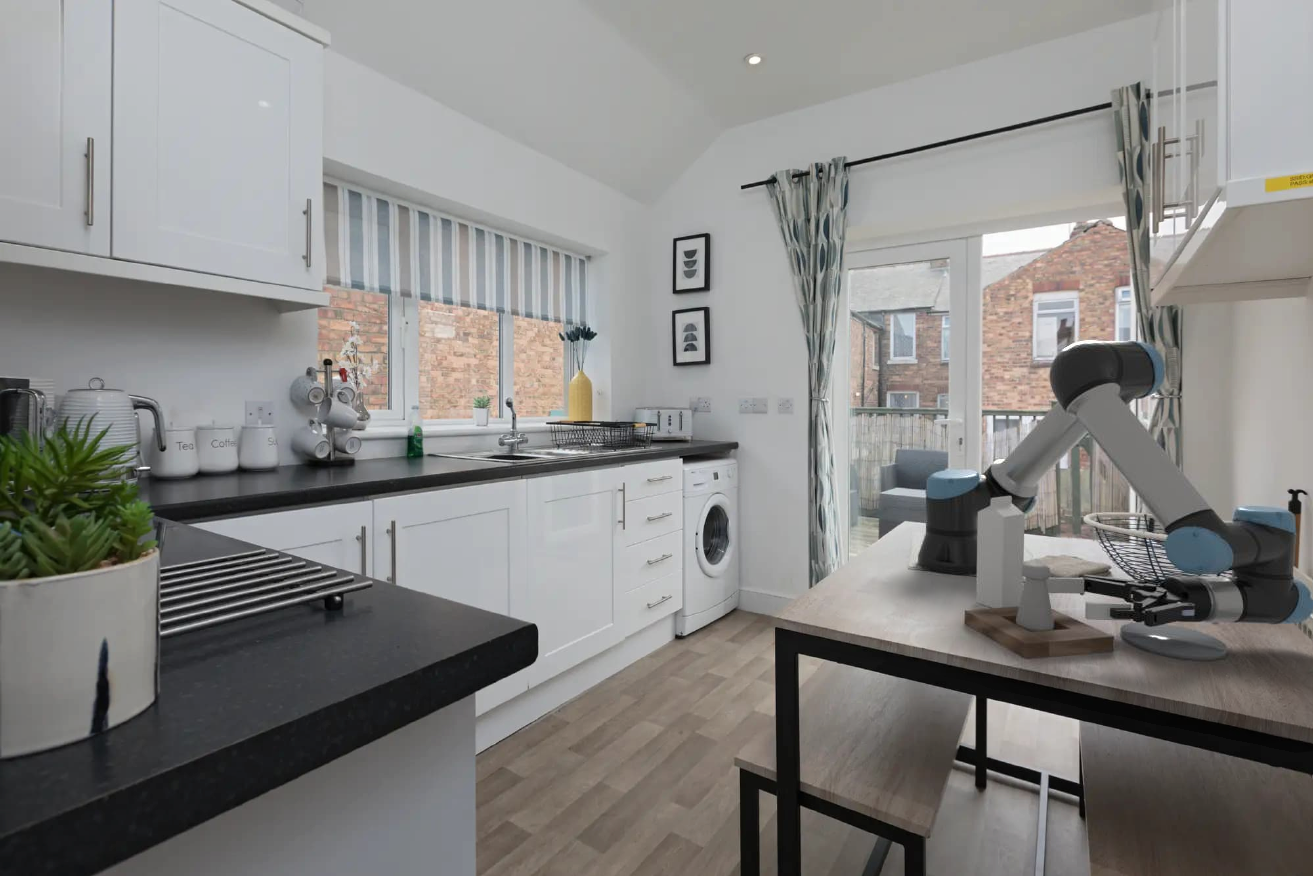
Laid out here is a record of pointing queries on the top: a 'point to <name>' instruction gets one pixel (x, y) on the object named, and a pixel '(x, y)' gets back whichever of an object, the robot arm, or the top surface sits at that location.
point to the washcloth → (1072, 566)
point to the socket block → (1039, 634)
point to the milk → (1000, 554)
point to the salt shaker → (1035, 599)
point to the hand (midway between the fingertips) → (1064, 597)
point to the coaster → (1173, 641)
